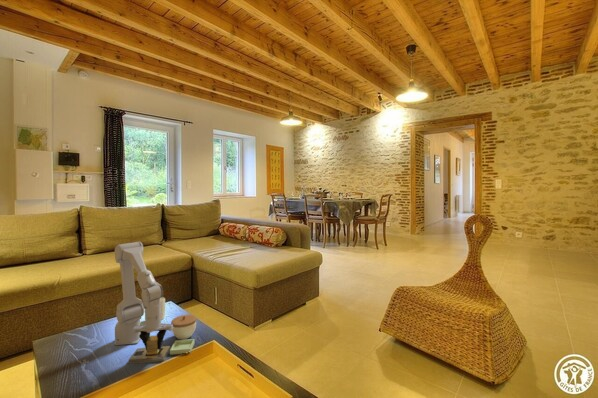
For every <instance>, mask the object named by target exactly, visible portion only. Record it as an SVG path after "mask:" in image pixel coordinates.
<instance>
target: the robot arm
mask: <svg viewBox="0 0 598 398" xmlns="http://www.w3.org/2000/svg"><path fill="white" fill-rule="evenodd" d="M143 255H144V244H143V243H142V242H141V240H140V241H139V240H138V241H135V242H127V243H121V244H117V245H115V248H114V260H115V262H116V263H117V264H119V267H120V269H119V270H120V278H121V288H122V289H121V290H122V297H123V298H122V300H121V301H120V302H119V303H118V304H117V306H116V312H115V313H116V315H115V317H116V320H117V321H116V323H115V327H114V344H113V345H114V346H119V345H121V346H123V345H132V344H133V345H134V344H138V343H139V342H140V340H141V342H142V343H143V344H144V348H146V350H147V340H148V338H149V337H150V336H151V333H153V332H157V333H156V336H157V338H158V350H159V349H161V347H163V346H162V345H163V341H164V338H165V335H166V333H167V331H169V332H173V331H172V329H173V324H171V323H162V320H161V303H160V298H162V297H164V290H163V286H162V285H161V283H159V282H157V281H156V279H155V277H154V275H153V273H152V271H151V270H149V269H147V266H146V264H145V260H144V258H143ZM134 270H135V271H136V273H137V276H136V280H137V282H138V285H139V287H140V290H141V298H142V299H140V298H138V297H137V296H136V294H137V293H136V285H135V284H136V283H135V275H134ZM143 316H144V325H141V319H142V317H143Z"/></svg>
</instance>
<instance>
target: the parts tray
mask: <svg viewBox="0 0 598 398" xmlns="http://www.w3.org/2000/svg"><path fill="white" fill-rule="evenodd" d="M194 346H195V338H190V339H189V338H187V339H183V340H181V339H176V340H174V342H173V343H172V346H170V351H169V355H170V356H172V355H173V356H175V355H183V354H182V353H186V352H189V351H191V352H192V350H193V348H194ZM186 354H187V353H186Z"/></svg>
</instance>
